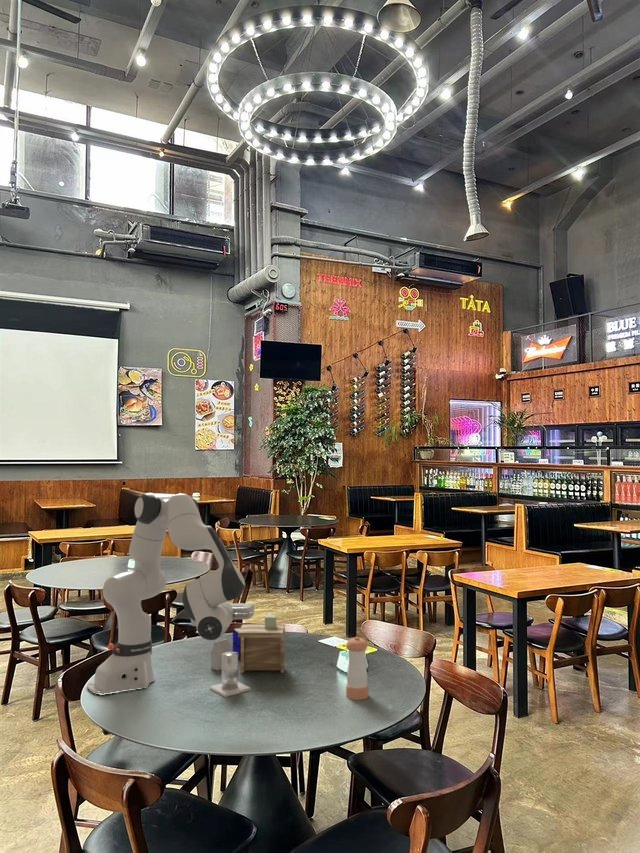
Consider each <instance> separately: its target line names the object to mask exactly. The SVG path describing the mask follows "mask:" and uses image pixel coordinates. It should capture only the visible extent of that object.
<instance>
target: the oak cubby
mask: <svg viewBox="0 0 640 853" xmlns="http://www.w3.org/2000/svg"><path fill="white" fill-rule="evenodd" d="M285 626H286V624H284V623H283V624H282V623H281V624H280V623H279V624H277V623H276V629H265V623H264V624H263V623H262V624H260V623H259V624H241V627H239V628H240V630H239V632H238V637H241V660H240V674H245V672H246V671H280V674H285V670H286V669H285V668H286V666H285V665H286V664H285V656H286V655H285V652H286V650H285V646H286V645H285V642H286V641H285V640H286V639H285V638H286V637H285V636H286V634H285V633H286V630H285V628H286V627H285Z"/></svg>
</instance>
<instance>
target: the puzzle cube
mask: <svg viewBox="0 0 640 853" xmlns="http://www.w3.org/2000/svg"><path fill="white" fill-rule="evenodd" d="M240 628H241V627H239V628H233V629H232V652H237V653H238V661H241V637H238V632H239V630H240Z"/></svg>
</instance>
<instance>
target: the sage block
mask: <svg viewBox="0 0 640 853" xmlns="http://www.w3.org/2000/svg"><path fill="white" fill-rule="evenodd" d="M264 624H265V629H276V624H277V614H265V616H264Z"/></svg>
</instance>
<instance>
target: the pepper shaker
mask: <svg viewBox="0 0 640 853" xmlns="http://www.w3.org/2000/svg"><path fill="white" fill-rule="evenodd" d="M368 646H369V645H368V643H367V641H366V640H365V639H363V638H360V637H359V636H355V637H353V638H351V639H348V640H347V643H346V649H347V650H348V667H347V672H346V677H347V678H346V680H347V683H346V685H345V689H346V690H345V694H346V695H345V696H346V698H348V699H350V700H353V701H354V700H355V701H361V700H366V699H368V698H369V685H368V672H367V671H368V670H367V665H366V650H367V649H368Z"/></svg>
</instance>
